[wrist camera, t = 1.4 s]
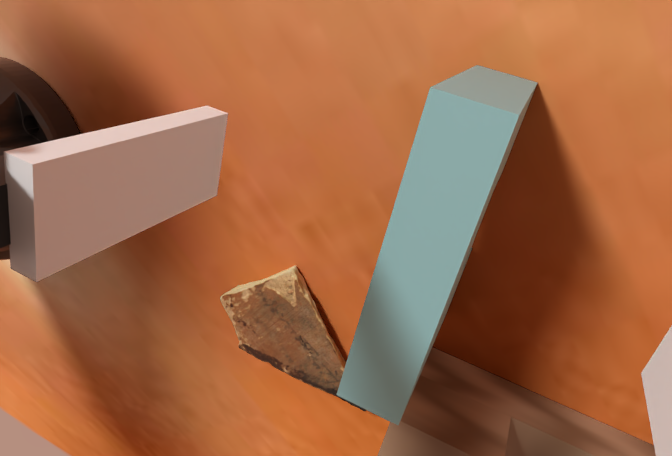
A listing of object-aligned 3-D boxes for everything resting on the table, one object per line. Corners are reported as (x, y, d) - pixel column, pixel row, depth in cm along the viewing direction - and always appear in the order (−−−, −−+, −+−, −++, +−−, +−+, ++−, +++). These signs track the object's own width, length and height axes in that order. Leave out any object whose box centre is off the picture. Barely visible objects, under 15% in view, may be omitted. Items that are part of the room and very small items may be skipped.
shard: (373, 398, 36) (364, 414, 35) (288, 413, 40) (276, 429, 39) (304, 259, 35) (292, 270, 33) (221, 288, 38) (207, 300, 37)
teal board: (445, 315, 32) (398, 425, 23) (399, 295, 32) (336, 395, 24) (537, 82, 25) (519, 115, 17) (477, 65, 26) (430, 87, 18)
